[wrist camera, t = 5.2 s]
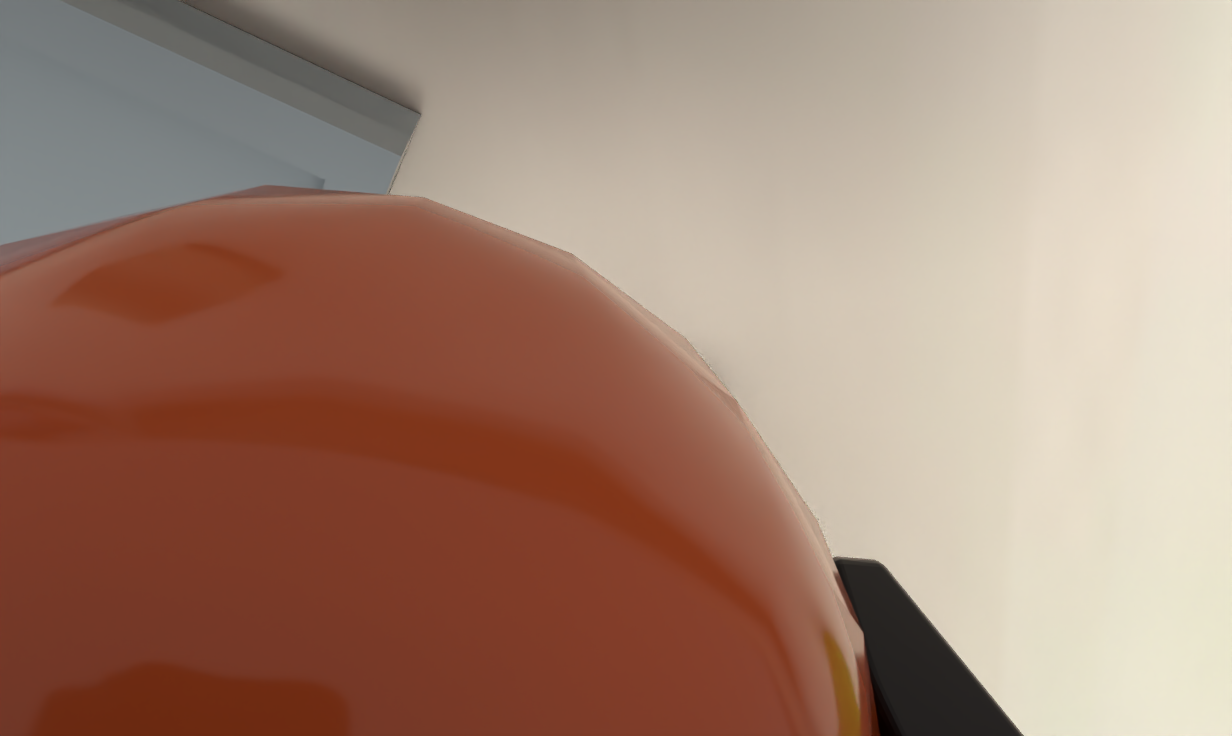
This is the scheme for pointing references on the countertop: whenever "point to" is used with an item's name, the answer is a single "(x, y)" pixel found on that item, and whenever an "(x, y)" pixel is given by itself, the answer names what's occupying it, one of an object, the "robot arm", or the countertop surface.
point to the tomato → (387, 492)
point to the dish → (170, 115)
